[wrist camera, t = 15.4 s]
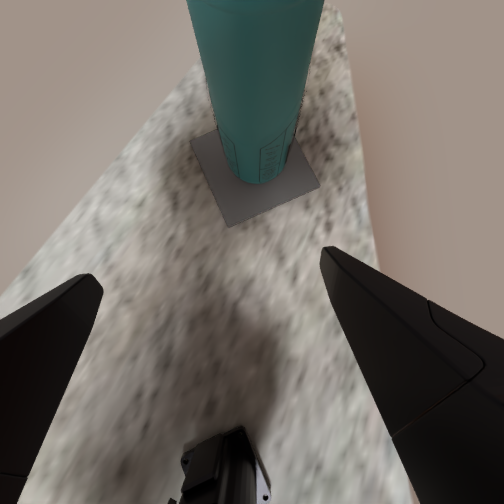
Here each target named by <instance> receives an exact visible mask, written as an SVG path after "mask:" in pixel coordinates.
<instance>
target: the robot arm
mask: <svg viewBox="0 0 504 504" xmlns="http://www.w3.org/2000/svg"><path fill="white" fill-rule="evenodd" d="M320 270H321V273H322V276H323V279H324V283H325V286H326V289H327V292H328V295H329V299H330V302H331V304H332V307H333V309H334V311H335V313H336V316H337V318H338V320H339V322H340V325H341V327H342V329H343V331H344V334H345V336H346V338H347V340H348V343H349V345H350V347H351V349H352V351H353V354H354V356H355V358H356V360H357V363H358V365H359V367H360V369H361V372H362V374H363V376H364V378H365V381H366V383H367V385H368V387H369V390H370V392H371V394H372V396H373V398H374V401H375V403H376V405H377V407H378V410H379V412H380V414H381V416H382V419H383V421H384V423H385V425H386V428H387V430H388V432H389V434H390V436H391V437H392V441H393V444H394V446H395V448H396V450H397V453H398V455H399V457H400V459H401V462H402V464H403V466H404V468H405V471H406V473H407V475H408V477H409V479H410V482H411V484H412V486H413V488H414V491H415V493H416V495H417V497H418V500H419V502H420V504H504V339H502V338H500V337H498V336H496V335H494V334H492V333H490V332H488V331H486V330H484V329H482V328H480V327H478V326H476V325H474V324H473V323H471V322H468V321H467V320H465V319H463V318H461V317H459V316H457V315H456V314H454V313H452V312H450V311H448V310H446V309H445V308H443V307H441V306H439V305H437V304H436V303H434V302H432V301H430V300H427V299H426V298H425V297H423V296H421V295H419V294H418V293H416V292H414V291H413V290H411V289H409V288H407V287H405V286H403V285H402V284H400V283H398V282H397V281H395V280H393V279H391V278H389V277H388V276H386V275H384V274H382V273H381V272H379V271H377V270H375V269H374V268H372V267H370V266H368V265H366V264H365V263H363V262H361V261H359V260H358V259H356V258H354V257H352V256H351V255H349V254H347V253H345V252H343V251H342V250H340V249H338V248H336V247H334V246H328V247H323V248H322V251H321V258H320ZM103 292H104V291H103V287H102V286H101V285H100V283H99V282H98V281H97V280H96V278H95V277H94V276H93V275H92V274H89V273H87V274H79V275H77V276H75V277H73V278H71V279H70V280H68V281H66V282H64V283H63V284H61V285H59V286H58V287H56V288H54V289H52V290H51V291H49V292H47V293H46V294H44V295H42V296H40V297H39V298H37V299H35V300H33V301H32V302H30V303H28V304H27V305H25V306H23V307H21V308H20V309H18V310H16V311H15V312H13V313H11V314H9V315H8V316H6V317H4V318H2V319H1V320H0V504H17V502H18V499H19V497H20V495H21V493H22V490H23V488H24V486H25V483H26V481H27V479H28V477H27V476H28V475H29V473H30V471H31V469H32V467H33V464H34V462H35V460H36V457H37V455H38V453H39V450H40V448H41V446H42V443H43V441H44V439H45V437H46V434H47V432H48V430H49V427H50V425H51V423H52V420H53V418H54V416H55V414H56V411H57V409H58V407H59V404H60V402H61V400H62V397H63V395H64V393H65V390H66V388H67V386H68V384H69V381H70V379H71V377H72V374H73V372H74V370H75V367H76V365H77V363H78V361H79V358H80V356H81V354H82V351H83V349H84V347H85V344H86V342H87V340H88V337H89V335H90V333H91V330H92V328H93V325H94V322H95V318H96V315H97V312H98V309H99V306H100V303H101V300H102V296H103ZM239 432H242V433H243V434H242V435H240V434H239ZM186 458H187V459H188V460H189V461H186V460H185V459H186ZM181 465H182V468H183V471H184V474H185V480H184V483H183V485H182V488H181V493H182V496H181V499H180V502H179V504H268V503H269V502H270V501H271V491H270V488H269V486H268V483H267V481H266V478H265V476H264V473H263V471H262V468H261V466H260V463H259V461H258V458H257V456H256V453H255V451H254V448H253V446H252V443H251V441H250V438H249V436H248V434H247V431H246V429H245V427H243V426H239V427H237V428H235V429H233V430H231V431H229V432H226V433H224V434H219V435H217V436H214V437H212V438H210V439H208V440H206V441H204V442H202V443H200V444H198V445H197V446H196V447H195V448H193V449H191V450H189V451H187V452H185V453H184V454H183V456H182V458H181ZM265 494H266V495H267V496H264V495H265ZM176 503H177V501H176V500H174V499H172V498H170V499H169V501H168V504H176Z"/></svg>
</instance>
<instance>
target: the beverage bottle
mask: <svg viewBox="0 0 504 504" xmlns="http://www.w3.org/2000/svg"><path fill="white" fill-rule="evenodd" d="M186 1H187V5H188V9H189V13H190V16H191V21H192V24H193V28H194V32H195V36H196V40H197V44H198V48H199V52H200V56H201V60H202V64H203V68H204V72H205V76H206V80H207V84H208V88H209V93H210V98H211V102H212V106H213V110H214V114H215V116H214V115H213V116H214V120H216V122H217V126H216V127H217V128H218V131H219V133H218V134H219V135H220V137H219V139H221V142H222V144H221V145H222V146H223V147H224V148H223V152H224V151H225V155H224V156H226V159H227V161H226V162H228V165H229V167H228V168H230V169H231V170H232V172H233V173H234V174H235V176H237V177H238V178H240V179H241V180H243V181H245V182H248V183H253V184H260V183H265V182H268V181H270V180H272V179H274V178H275V177H277V176H278V174H279V173H280V172H281V171H282V170H283V169H285V168H284V166H285V164H286V162H287V158H288V154H290V151H291V149H290V146H291V143H292V144H293V142H291V141H293V140H294V138H293V140H292V137H293V135H294V136H295V134H293V133H294V129H295V125H296V126H297V125H298V123H297V124H296V122H299V121H297V117H300V115H299V114H300V113H299V110H300V109H301V107H300V104H301V100H302V96H303V92H304V91H305V90H304V88H305V84H306V79H307V74H308V68H309V64H310V60H311V55H312V51H313V47H314V43H315V38H316V34H317V30H318V26H319V21H320V17H321V13H322V9H323V4H324V0H186ZM309 74H310V73H309ZM206 88H207V86H206ZM306 91H307V90H306ZM304 96H305V95H304ZM303 99H304V98H303ZM208 100H209V99H208ZM303 102H304V101H303ZM303 102H302V103H303ZM301 105H302V104H301ZM302 106H303V105H302ZM299 108H300V109H299ZM212 113H213V112H212ZM298 113H299V114H298ZM298 115H299V116H298ZM215 118H216V119H215ZM298 120H299V119H298ZM216 122H215V123H216ZM218 131H217V132H218ZM295 132H296V130H295ZM291 148H292V146H291ZM289 150H290V151H289ZM224 158H225V157H224ZM288 160H289V159H288ZM231 170H230V171H231Z"/></svg>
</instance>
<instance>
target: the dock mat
mask: <svg viewBox="0 0 504 504" xmlns="http://www.w3.org/2000/svg"><path fill="white" fill-rule="evenodd" d="M217 131H218V129H217V130H214V131H212V132H209V133H207V134H205V135H202V136H200V137H198V138H195V139H193V140H191V141H190V143H191V146H192V148H193V150H194V152H195V155H196V157H197V159H198V161H199V163H200V166H201V168H202V170H203V172H204V175H205V177H206V179H207V181H208V184H209V186H210V188H211V190H212V193H213V195H214V197H215V199H216V202H217V204H218V206H219V208H220V211H221V213H222V215H223V217H224V220H225V222H226V224H227V226H228V228H229V227H231V226H233V225H236V224H238V223H240V222H242V221H245V220H247V219H249V218H252V217H254V216H256V215H258V214H261V213H263V212H265V211H267V210H270V209H272V208H274V207H276V206H279V205H281V204H283V203H285V202H288V201H290V200H292V199H294V198H297V197H299V196H301V195H304V194H306V193H308V192H310V191H313V190H315V189H317V188H319V187H320V184H319V182H318V180H317V178H316V176H315V175H314V173H313V171H312V169H311V167H310V165H309V163H308V161H307V159H306V157H305V156H304V154H303V152H302V150H301V148H300V146H299V144H298V142H297V140H296V138H295V137H294V135H293V137H292V140H293V138H294V140H293V141H291V142H293V144H292V143H291V146H292V148H291V146H290V149H291V151H290V150H289V151H290V154H288V158H287V162H286V164H285V166H284V168H285V169H283V170H282V171H281V172H280V173H279V174H278V176H277V177H275V178H274V179H272V180H270V181H268V182H265V183H260V184H253V183H248V182H245V181H243V180H241V179H240V178H238V177H237V176H235V174H234V173H233V172H232V170H231V169H230V168H228V167H229V165H228V162H226V161H227V159H226V156H224V155H225V151H224V152H223V148H224V147H223V146H222V145H221V144H222V142H221V139H219V137H220V135H219V134H218V133H219V131H218V132H217ZM224 157H225V158H224ZM288 159H289V160H288ZM230 170H231V171H230Z"/></svg>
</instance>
